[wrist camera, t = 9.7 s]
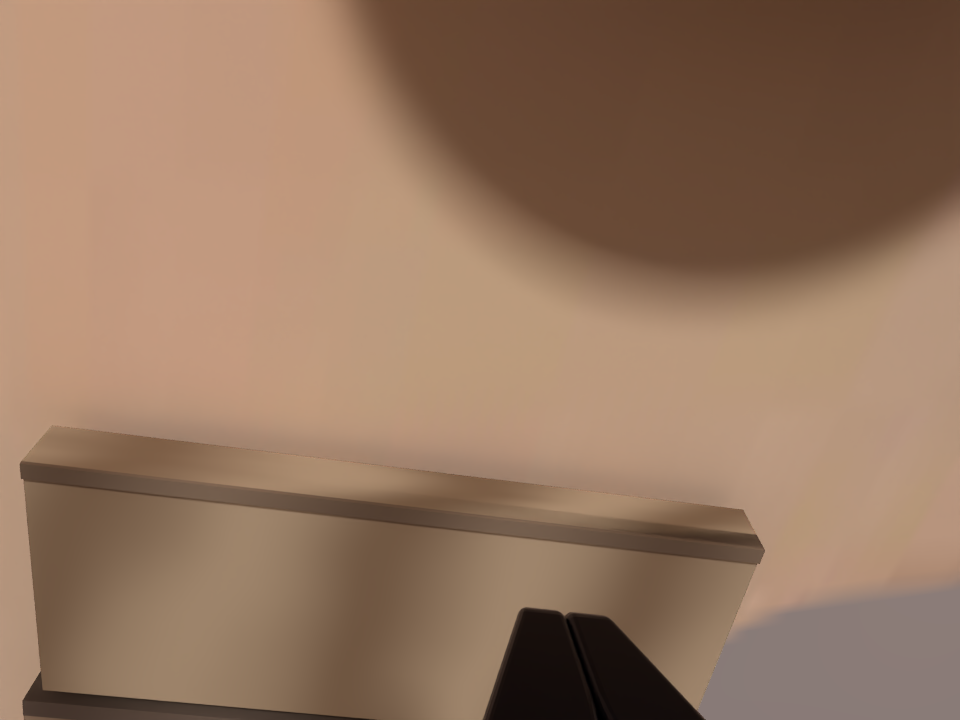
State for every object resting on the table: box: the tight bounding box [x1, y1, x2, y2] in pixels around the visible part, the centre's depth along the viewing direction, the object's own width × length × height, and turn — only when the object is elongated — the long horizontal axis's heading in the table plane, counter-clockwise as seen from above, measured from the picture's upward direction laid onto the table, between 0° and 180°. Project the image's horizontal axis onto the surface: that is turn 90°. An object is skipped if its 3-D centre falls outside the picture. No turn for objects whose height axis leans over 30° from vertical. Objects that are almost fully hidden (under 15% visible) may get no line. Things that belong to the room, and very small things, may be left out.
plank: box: [20, 425, 765, 720], centre depth 21 cm, size 17×7×2 cm, turn 80°
